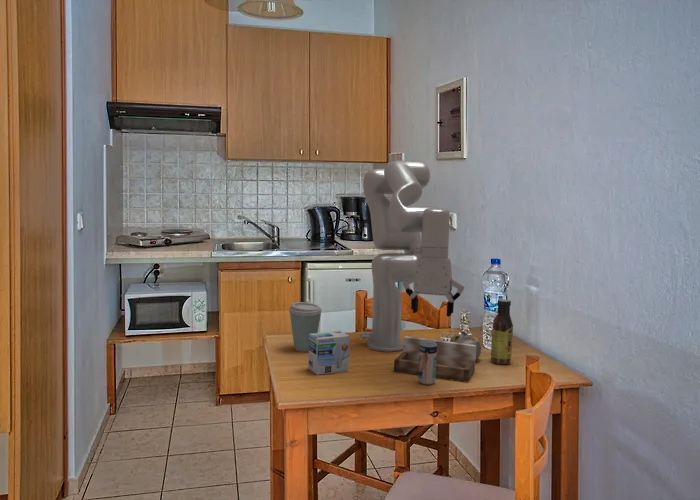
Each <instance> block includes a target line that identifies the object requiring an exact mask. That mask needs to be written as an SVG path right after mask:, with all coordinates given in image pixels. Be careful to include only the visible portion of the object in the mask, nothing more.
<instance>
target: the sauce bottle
mask: <svg viewBox="0 0 700 500" xmlns="http://www.w3.org/2000/svg"><path fill="white" fill-rule="evenodd" d="M511 301H512V300H511V299H503V298H501V299H497V301H496V302H497V312H496V313H497V314H496V315H495V317H494V319H493V320H492V331H491V345H490V346H491V348H490V350H491V351H490V356H491V358H490V361H491V362H492V363H494V364H497V365H508V364H510V363H511V360H512V352H513V349H512V347H513V334H514V333H513V332H514V331H513V330H514V323H513V321H512V317H511V313H510V312H511V305H512V302H511Z"/></svg>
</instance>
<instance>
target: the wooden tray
mask: <svg viewBox="0 0 700 500" xmlns="http://www.w3.org/2000/svg"><path fill="white" fill-rule="evenodd" d="M424 339H425V338H423V337H417V336H416V337H415V336H407V335H404V336H403V343H404V345H403V349H402V352H401V353H400V354H398V356H396V358H395V359H394V361H393V363H394V365H393V372H394V373H395V372H398V373H403V374H409V375H410V374H411V375H417V376H418V371H419V351H420V343H421V341H422V340H424ZM429 339H430V338H429ZM430 340H432V339H430ZM433 340H434V341H435V342H436V344H437V355H436V374H435V379H436V378H439V379H444V380H450V379H453V380H452V381H457V380H461V381H460V382H464V381H469V382H470V380H471V378H472V377H471V376H473V375H474V373H475V372H474V371H476V360H475V359H476V345H471V344H463V343H455V342H450V341H446V340H437V339H433ZM472 374H473V375H472Z"/></svg>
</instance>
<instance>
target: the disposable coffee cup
mask: <svg viewBox="0 0 700 500" xmlns="http://www.w3.org/2000/svg"><path fill="white" fill-rule="evenodd" d="M288 312H289V315H290V316H289V317H290V324H291V325H290V326H291V332H292V339H293V347H294V348H295V351H298V352H303V353H307V352H308V353H309V334H311V333H319V326H320V321H321V315H322V313H323V311H322V308H321V307H320V306H319V305H318V304H316V303H312V302H306V301H305V302H304V301H303V302H302V301H296V302H295V301H294V302H292V303H291V304H290V307H289V310H288Z"/></svg>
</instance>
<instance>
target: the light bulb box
mask: <svg viewBox="0 0 700 500" xmlns="http://www.w3.org/2000/svg"><path fill="white" fill-rule="evenodd" d="M350 339H351V337H350V335H349V334H347V333H345V332H344V331H342V330H334V331H323V332H318V333H311V334H309V352H308V360H307V361H308V364H307V365H308V366H307V369H308V370H310V371H311V372H312V373H314V374H315V375H316V376H318V375H328V374H334V373H335V374H337V373H344V372H349V363H350V341H351V340H350Z"/></svg>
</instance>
